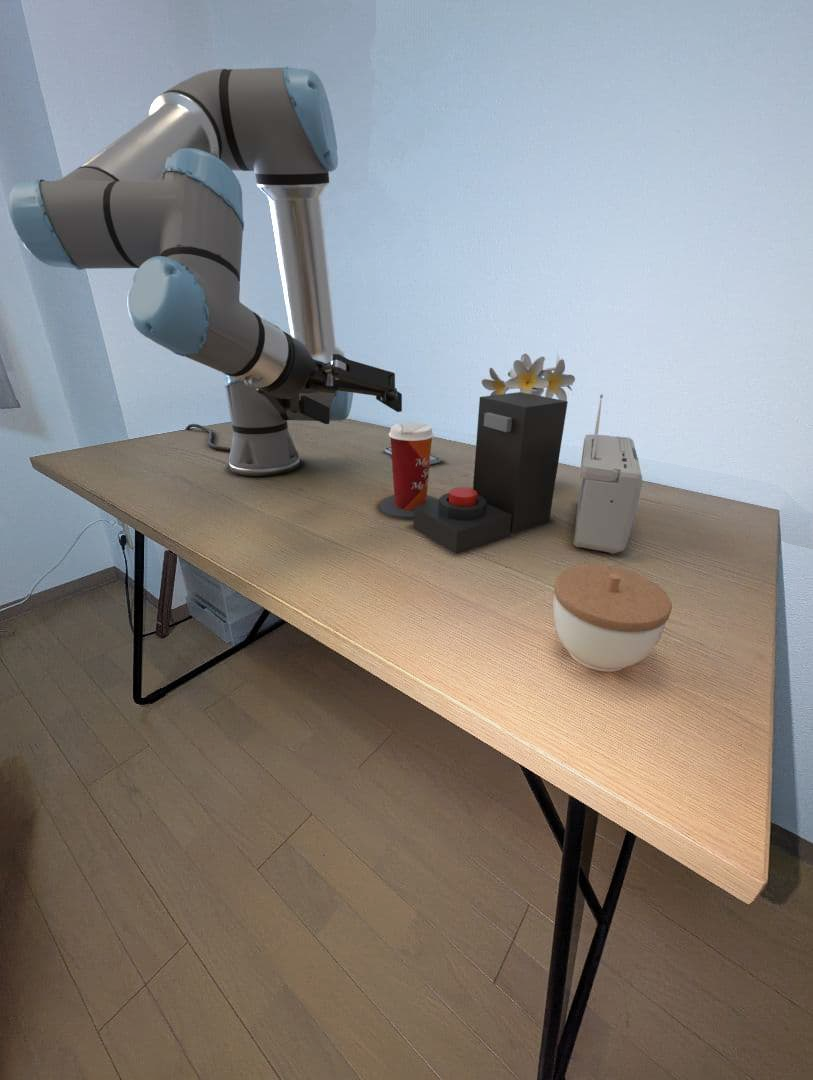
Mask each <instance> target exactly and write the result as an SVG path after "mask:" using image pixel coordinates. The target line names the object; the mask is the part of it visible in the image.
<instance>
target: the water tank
mask: <svg viewBox="0 0 813 1080" xmlns="http://www.w3.org/2000/svg"><path fill="white" fill-rule="evenodd" d="M568 403H569V402H568V400H567V401H564V400H559V399H558V398H553V397H552V398H548V397H545V396H543V395H541V396H538V395H532V394H527V393H522V392H520V391H517V392H510V393H509V392H507V393H505V394H500V395H492V396H490V395H485V396H479V402H478V416H477V427H476V442H475V443H476V444H475V456H474V468H473V482H472V489H473V490H475V491H477V495H479V496H482V497H484V498H485V500H486V502H487V504H489V505H491V506H494V507H496V508H498V509H500V510H502V511H504V512H507V513H509V514H511V515H512V517H511V525H510V534H514V533H517V532H520V531H523V530H526V529H529V528H532V527H535V526H538V525H541V524H544V523H547V522H550V519H551V513H552V505H553V498H554V493H555V485H556V480H557V473H558V467H559V462H560V461H559V460H560V454H561V448H562V441H563V436H564V428H565V424H566V423H565V422H566V416H567V409H568Z"/></svg>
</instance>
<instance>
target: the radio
mask: <svg viewBox="0 0 813 1080" xmlns="http://www.w3.org/2000/svg"><path fill="white" fill-rule="evenodd" d="M599 398H600V400H599V405H598V411H597V416H596V421H595V428H594V434H591V433H589V434H585V436H584V439H583V445H582V453H581V461H580V462H581V463H580V469H579V473H580V474H579V475H580V476H579V477H580V478H581V484H580V490H579V496H578V501H577V509H576V510H577V511H576V519H575V528H574V536H573V546H574V547H576V548H582V549H583V548H584V549H587V550H594V551H599V552H606V553H609V554H612V555H613V554H617V553H618V552H619V553H620V552H623V551H624V550H625V549H626V548H627V544H628V541H629V539H630V535H631V531H632V528H633V525H634V521H635V516H636V513H637V509H638V506H639V501H640V496H641V490H642V485H643V475H642V470H641V466H640V463H639V459H638V454H637V450H636V446H635V443H634V439H632V438H631V437H627V436H615V435H614V436H613V435H608V434H607V435H604V434H599V428H600V419H601V410H602V399H603V398H604V394H603V393H602V394H600V395H599Z"/></svg>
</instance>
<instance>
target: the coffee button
mask: <svg viewBox="0 0 813 1080" xmlns="http://www.w3.org/2000/svg"><path fill="white" fill-rule="evenodd" d="M448 493H449V503H450V504H452V505H457V506H472V505H476V504H477V491H475V490H473V488H470V487H453V488H451V489H450V490H449V492H448Z"/></svg>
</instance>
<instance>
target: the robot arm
mask: <svg viewBox="0 0 813 1080" xmlns="http://www.w3.org/2000/svg"><path fill="white" fill-rule="evenodd" d="M337 144H338V143H337V137H336V130H335V125H334V120H333V115H332V111H331V106H330V102H329V99H328V96H327V92H326V89H325V87H324V83H323V82H322V80H321V78H320V77H319V76H318V74H317V73H316V72H314V71H313V70H311V69H307V68H297V67H289V66H283V67H265V68H263V67H261V68H258V67H257V68H232V69H231V68H229V69H227V68H217V69H211V70H207V71H203V72H200V73H196V74H194V75H192V76H191V77H189V78H186V79H184V80H183V81H181V82H179V83H177V84H175V85H174V86H172V87H171V88H169V89H167V90H165V91H164V92H163V93H161V94H160V95H158V96H157V97H156V98H154V100H153V102H152V103H151V104H150V108H149V109H148V116H147V117H146V118H144V119H143V120H142V121H141V122H139V123H138V124H136V125H135V126H134V127H132V128H131V129H129V130H128V131H127V132H125V133H124V134H123V135H121V136H120V137H119V138H116V139H115V140H114V141H113V142H112V143H110V144H108V145H107V146H106V147H105V148H102V150H101V151H99V152H98V153H96V154H95V155H93V156H92V157H91V158H89V159H88V160H86V161H85V162H83V164H81V165H80V166H78V167H77V168H76V169H74V170H72V171H71V172H69V173H68V174H66V175H65V176H63V177H62V178H60V179H56V180H45V179H42V178H41V179H40V178H37V179H35V180H32V181H23V182H22V181H21V182H18V183H16V184H15V185H14V186H13V187H12V189H11V190H10V193H9V196H8V201H7V203H8V204H7V205H8V212H9V218H10V221H11V224H12V226H13V229H14V231H15V233H16V234H17V235H18V237H19V238H20V241H21V243H22V244H23V246H24V247H25V249H26V250H27V251H28V252H29V253H30V254H31V255H32V256H33V257H34V258H35V259H37V261H40V262H41V263H43V264H45V265H47V266H50V267H55V268H67V269H68V268H70V269H76V270H78V271H81V270H84V269H86V270H88V269H89V270H91V269H136V271H135V273H134V274H133V276H132V286H131V287H130V288H129V289H128V291H127V311H128V316H129V318H130V320H131V323H132V325H133V327H134V328H135V329H136V331H138V333H140V335H142V336H143V337H145V338H147V339H149V340H151V341H152V342H154V343H156V344H157V345H159V346H161V347H163V348H165V349H167V350H169V351H170V352H171V353H173V354H175V355H178V356H181V357H185V358H188V359H190V360H193V361H194V362H197V363H199V364H201V365H204V366H206V367H209V368H210V369H213V370H216V371H218V372H220V373H222V374H223V375H224V388H225V392H226V398H227V405H228V410H229V411H228V412H229V416H230V422H231V427H232V440H231V445H230V446H231V447H228V446H221V445H217V444H214V443H212V442H213V438H214V437H213V434H214V433H213V430H212V429H211V428H209V427H206V426H204V425H202V424H198V423H190V424H187V426H186V427H185V430H187V431H188V430H191V428H198V429H201V430H203V431H205V432H208V440H207V445H208V446H209V447H210V448H212V449H214V450H219V451H225V452H229V456H228V457H229V458H228V464H229V470H230V472H232V473H234V474H237V475H240V476H246V477H268V476H269V477H270V476H275V475H281V474H284V473H285V474H286V473H288V472H292V471H294V470H296V469H297V468H299V466H300V463H301V462H300V453H299V450H297V448H296V445H295V443H294V440H293V439H292V437H291V434H290V431H289V425H288V421H301V422H302V421H303V422H306V421H308V422H319V423H322V424H324V425H330V422H341V421H344V420H346V419H348V417H349V415H350V413H351V409H352V404H353V400H354V399H353V398H354V394H359V395H366V396H375V400H376V401H378V402H380V403H382V404H383V405H385V406H386V407H388V408H390V409H392V410H394V411H395V412H397V413H401V412H403V394H402V393H401V392H400V391H399V390H397V387H396V373H395V372H392V371H390V370H386V369H382V368H380V367H376V366H372V365H369V364H366V363H361V362H359V361H355V360H352V359H349V358H347V357H346V354H345V351H343V350H342V349H341V348H340V347H339V346H338V345H337V340H336V331H335V319H334V309H333V302H332V301H333V300H332V299H333V298H332V291H331V280H330V269H329V261H328V260H329V259H328V250H327V239H326V229H325V219H324V217H325V216H324V210H323V209H324V207H323V199H322V198H323V195H324V194H325V192H326V191H327V189H328V188H329V187H330V173H332V172H334V171H335V170H337V168H338V163H339V162H338V161H339V158H338V156H339V155H338V145H337ZM234 171H239V172H241V171H242V172H254V175H255V179H256V181H255V182H256V186H257V187H258V189H259V190H260V191H262V193H263V194H264V195H265V196H266V197H267V199H268V201H269V208H270V214H271V220H272V226H273V233H274V240H275V246H276V253H277V259H278V265H279V272H280V277H281V284H282V291H283V298H284V303H285V310H286V316H287V321H288V322H287V323H288V329H289V333H287V332H286V331H284V330H282V329H281V328H280V327H279V326H277V325H276V324H274V323H273V322H271V321H269V319H268V320H267V319H266V318H264V317H263V316H261V315H260V314H258V313H256V312H255V311H253V310H252V309H250V308H249V307H248V306H246V305H244V304H243V303H242V302H241V300H240V294H241V293H240V292H241V269H242V268H241V267H242V253H243V251H242V250H243V235H244V234H243V233H244V230H245V222H244V214H243V213H244V211H243V210H244V209H243V190H242V186H241V183H240V180H239V179H238V177H237V176H236V174H235V172H234Z"/></svg>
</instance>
